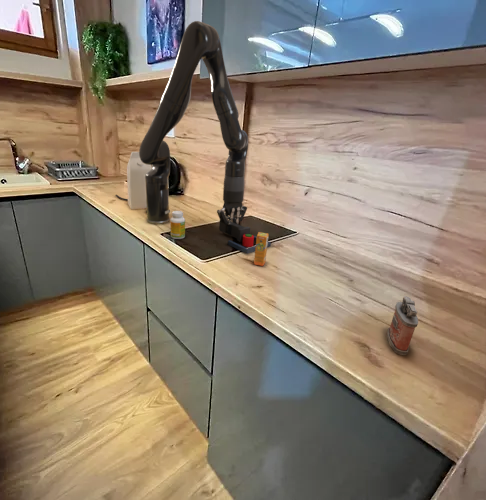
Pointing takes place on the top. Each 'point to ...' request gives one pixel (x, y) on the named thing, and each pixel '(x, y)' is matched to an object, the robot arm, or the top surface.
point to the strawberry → (248, 240)
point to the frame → (243, 249)
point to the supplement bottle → (177, 225)
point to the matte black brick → (235, 230)
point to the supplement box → (261, 248)
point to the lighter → (402, 325)
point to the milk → (136, 181)
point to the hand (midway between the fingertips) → (231, 232)
